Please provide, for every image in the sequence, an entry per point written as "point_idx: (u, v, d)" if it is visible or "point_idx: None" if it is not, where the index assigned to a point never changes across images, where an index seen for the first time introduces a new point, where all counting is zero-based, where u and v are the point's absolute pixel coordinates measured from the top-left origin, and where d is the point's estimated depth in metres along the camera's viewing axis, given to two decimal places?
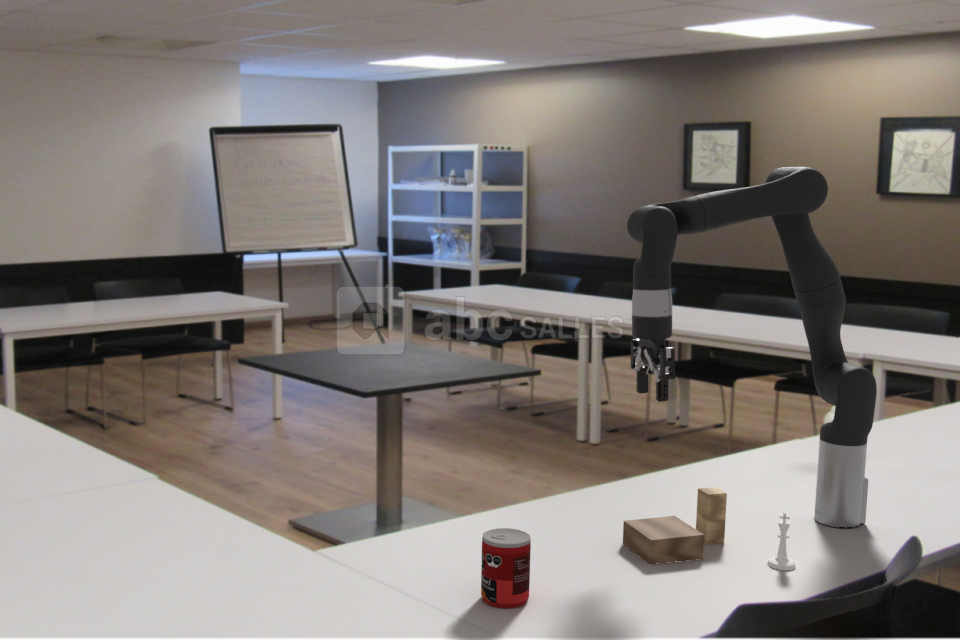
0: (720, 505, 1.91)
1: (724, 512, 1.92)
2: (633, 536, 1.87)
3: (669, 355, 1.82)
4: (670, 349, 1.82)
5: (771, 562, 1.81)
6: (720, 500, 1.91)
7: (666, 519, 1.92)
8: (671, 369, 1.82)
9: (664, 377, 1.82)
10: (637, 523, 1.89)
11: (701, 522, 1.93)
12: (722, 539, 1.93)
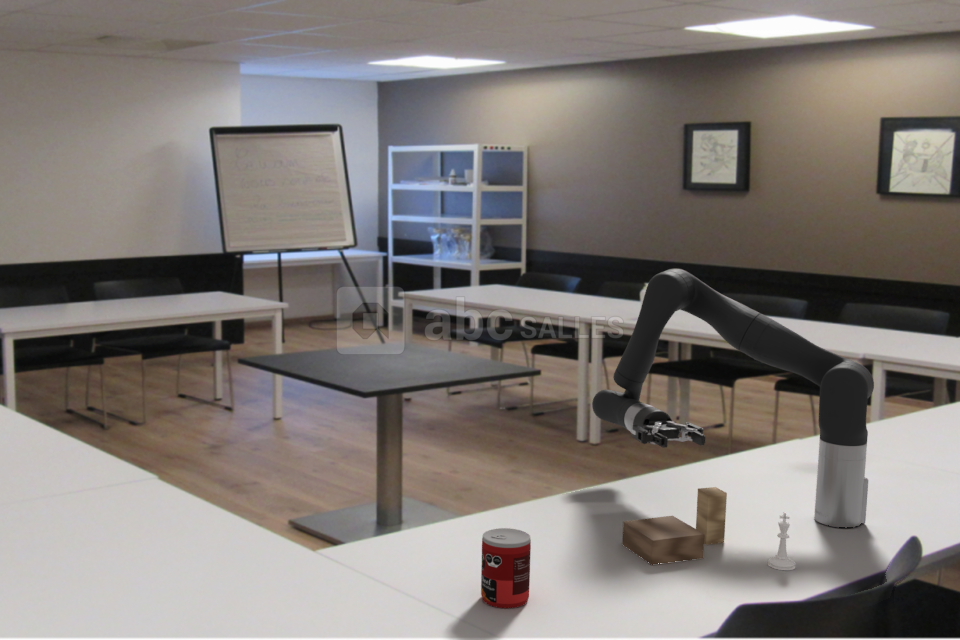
0: (720, 505, 1.91)
1: (724, 512, 1.92)
2: (633, 536, 1.86)
3: (634, 431, 2.09)
4: (633, 428, 2.10)
5: (771, 562, 1.81)
6: (720, 500, 1.91)
7: (664, 519, 1.92)
8: None
9: (641, 441, 2.05)
10: (636, 523, 1.89)
11: (701, 522, 1.93)
12: (722, 539, 1.93)
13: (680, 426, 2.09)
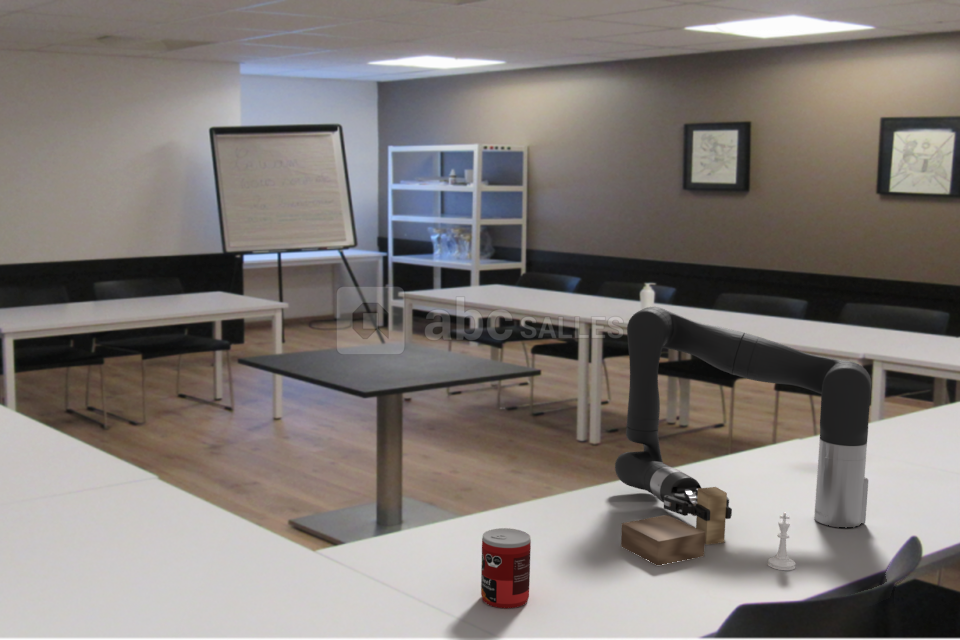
0: (720, 505, 1.91)
1: (724, 512, 1.92)
2: (635, 538, 1.86)
3: (667, 503, 1.97)
4: (664, 499, 1.98)
5: (771, 562, 1.81)
6: (720, 500, 1.91)
7: (661, 518, 1.92)
8: None
9: (682, 513, 1.94)
10: (636, 525, 1.88)
11: (701, 522, 1.93)
12: (722, 539, 1.93)
13: None
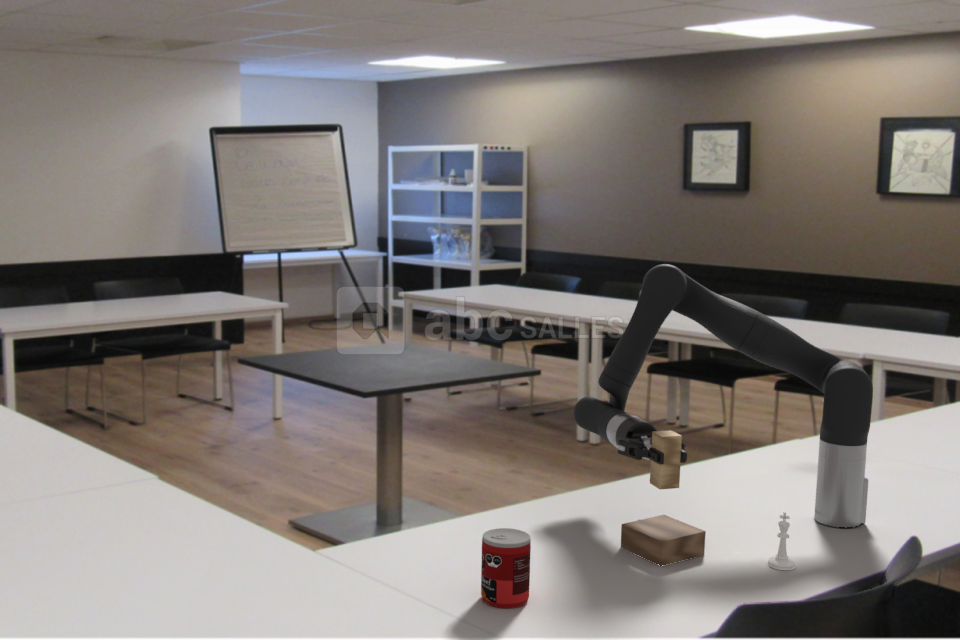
0: (674, 448, 1.83)
1: (679, 456, 1.84)
2: (636, 539, 1.85)
3: (621, 447, 1.89)
4: (618, 444, 1.90)
5: (771, 562, 1.81)
6: (674, 443, 1.83)
7: (659, 518, 1.92)
8: None
9: (635, 457, 1.86)
10: (636, 525, 1.88)
11: (655, 466, 1.85)
12: (677, 484, 1.84)
13: None
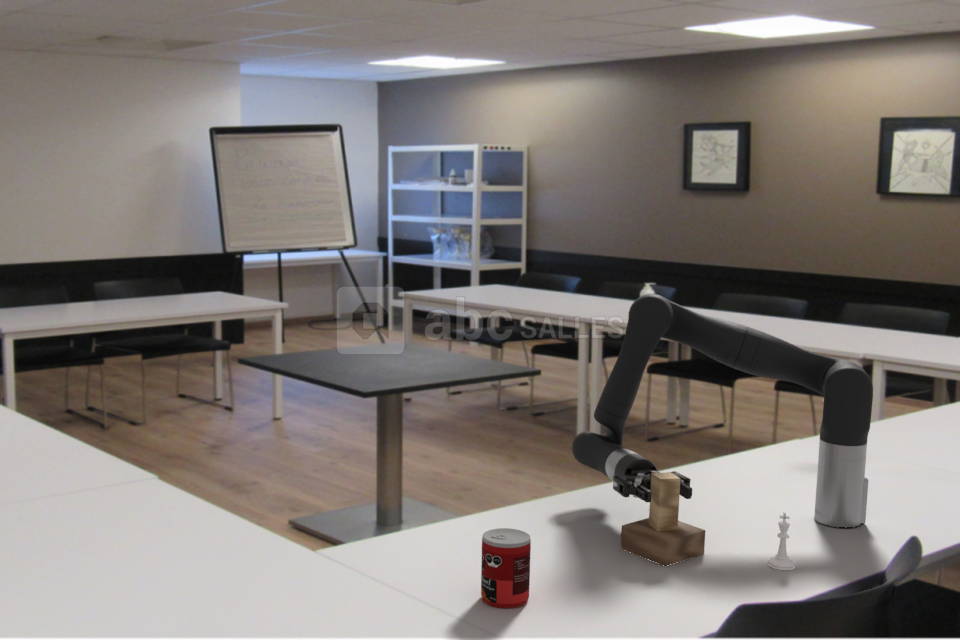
0: (673, 490, 1.84)
1: (677, 498, 1.85)
2: (637, 540, 1.85)
3: (615, 483, 1.90)
4: (614, 479, 1.92)
5: (771, 562, 1.81)
6: (673, 485, 1.84)
7: None
8: None
9: (623, 495, 1.87)
10: (636, 526, 1.87)
11: (654, 508, 1.86)
12: (675, 526, 1.86)
13: None
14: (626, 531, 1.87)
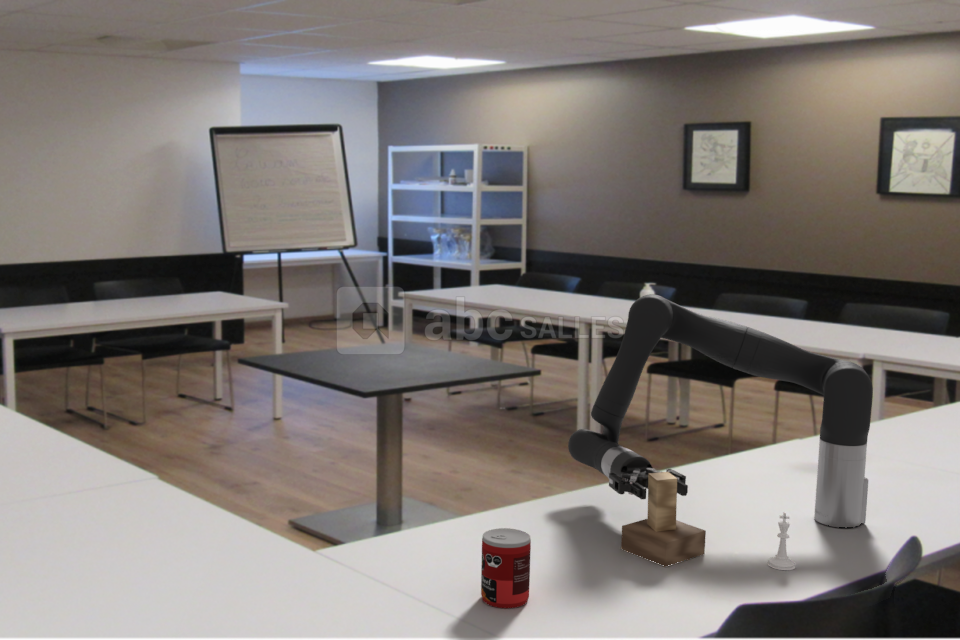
0: (670, 490, 1.84)
1: (675, 498, 1.85)
2: (638, 540, 1.85)
3: (610, 480, 1.92)
4: (610, 477, 1.93)
5: (771, 562, 1.81)
6: (670, 486, 1.84)
7: None
8: None
9: (618, 492, 1.88)
10: (636, 527, 1.87)
11: (651, 508, 1.86)
12: (673, 526, 1.85)
13: None
14: (626, 531, 1.87)
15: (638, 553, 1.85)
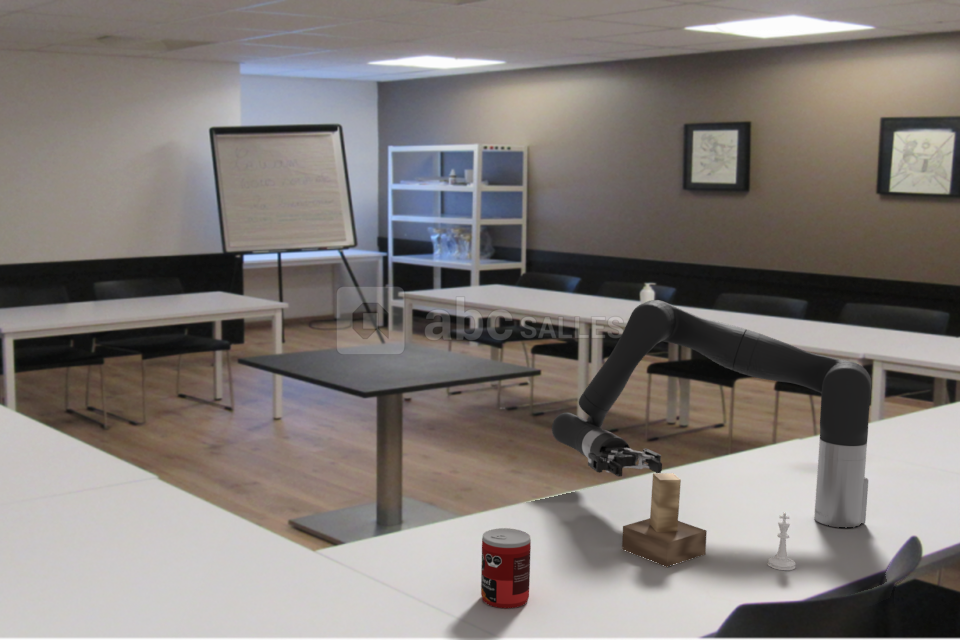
0: (673, 491, 1.84)
1: (677, 499, 1.84)
2: (639, 540, 1.84)
3: (589, 459, 2.03)
4: (589, 456, 2.04)
5: (771, 562, 1.81)
6: (673, 487, 1.84)
7: None
8: None
9: (596, 470, 1.99)
10: (637, 527, 1.87)
11: (654, 508, 1.86)
12: (675, 527, 1.85)
13: (637, 453, 2.03)
14: (627, 532, 1.87)
15: (639, 553, 1.85)
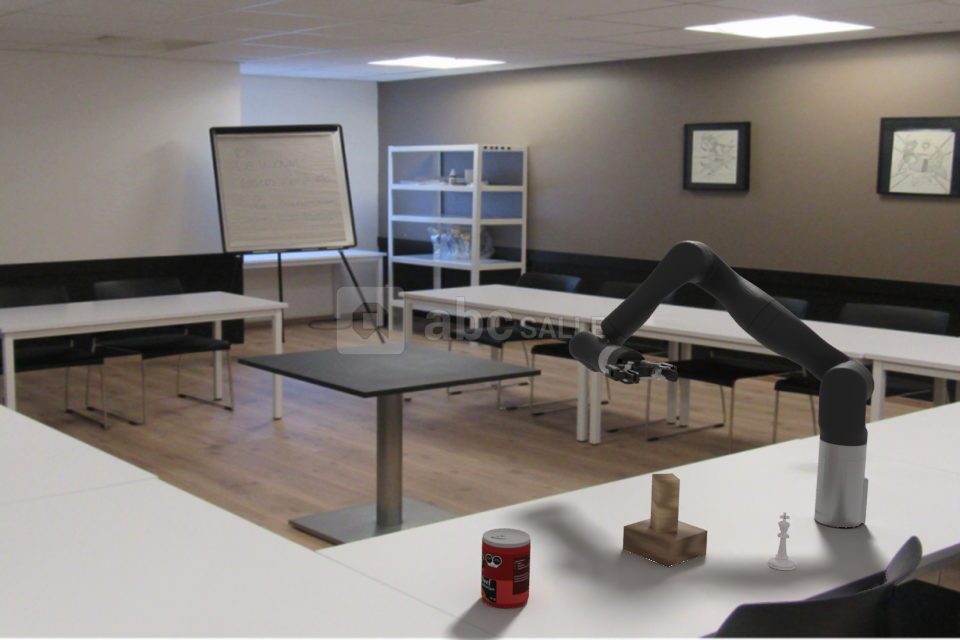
0: (672, 491, 1.84)
1: (677, 499, 1.84)
2: (640, 540, 1.84)
3: (606, 370, 2.07)
4: (606, 367, 2.08)
5: (771, 562, 1.81)
6: (672, 487, 1.84)
7: None
8: None
9: (614, 379, 2.03)
10: (638, 527, 1.87)
11: (654, 509, 1.86)
12: (675, 527, 1.85)
13: (653, 364, 2.07)
14: (628, 532, 1.87)
15: (640, 553, 1.85)
